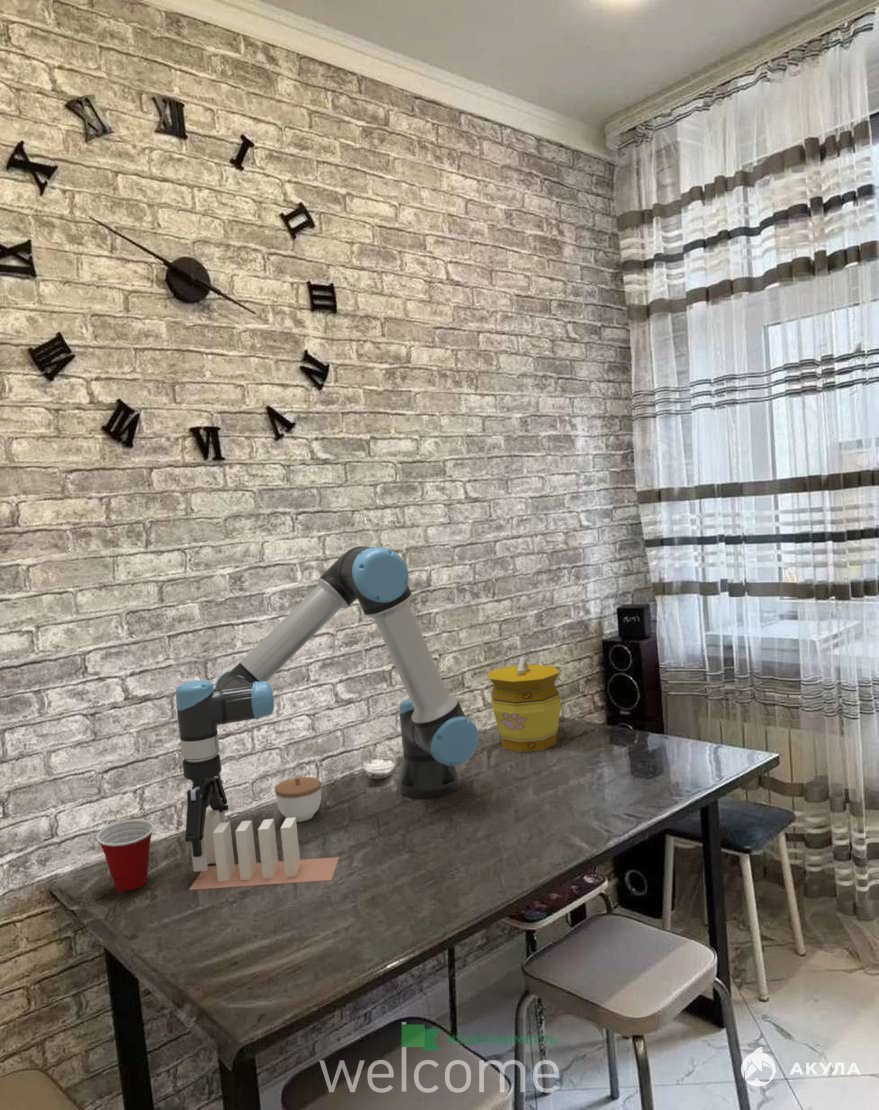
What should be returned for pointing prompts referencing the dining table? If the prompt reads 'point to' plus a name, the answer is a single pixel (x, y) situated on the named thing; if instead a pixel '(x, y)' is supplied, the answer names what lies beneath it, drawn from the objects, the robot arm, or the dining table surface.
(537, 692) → the container
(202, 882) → the strip
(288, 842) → the domino
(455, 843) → the dining table surface
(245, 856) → the domino
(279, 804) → the lidded jar
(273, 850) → the domino
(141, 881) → the plastic cup
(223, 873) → the domino
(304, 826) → the dining table surface
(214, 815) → the domino
